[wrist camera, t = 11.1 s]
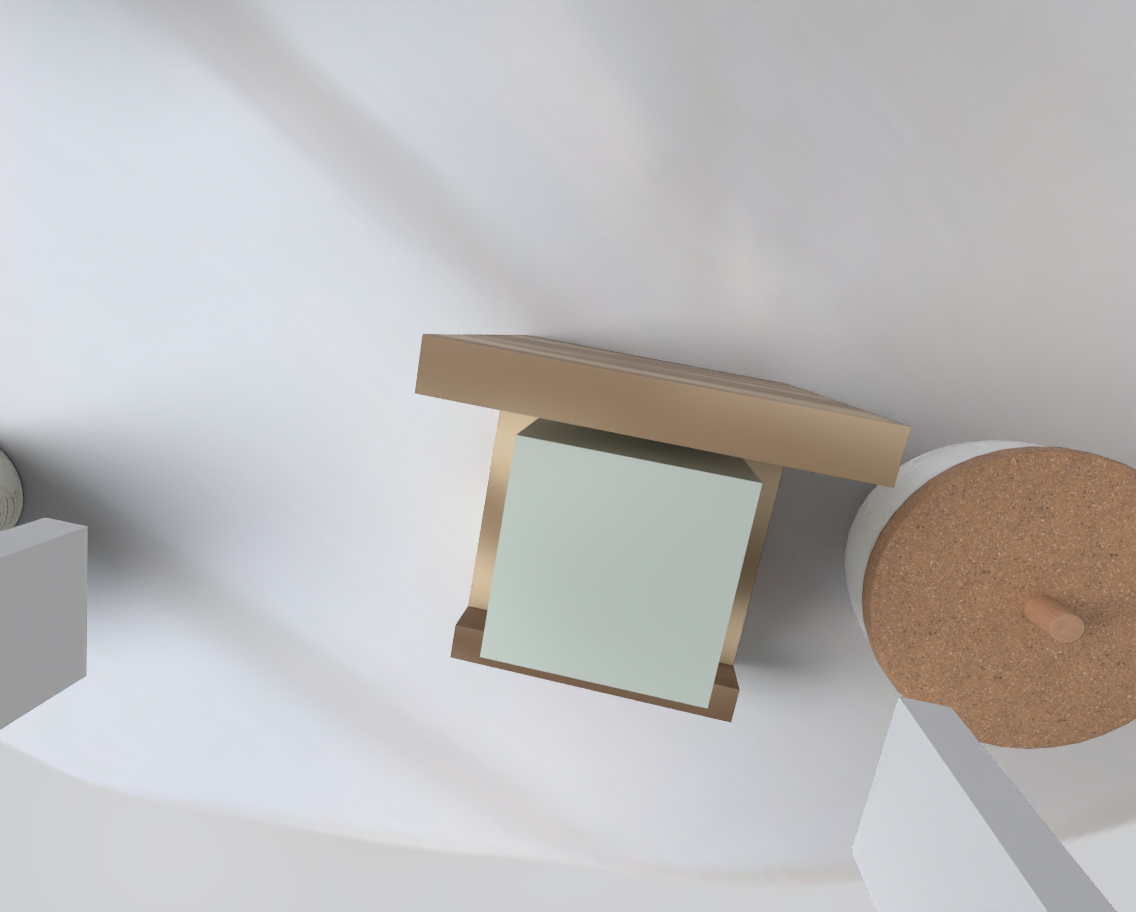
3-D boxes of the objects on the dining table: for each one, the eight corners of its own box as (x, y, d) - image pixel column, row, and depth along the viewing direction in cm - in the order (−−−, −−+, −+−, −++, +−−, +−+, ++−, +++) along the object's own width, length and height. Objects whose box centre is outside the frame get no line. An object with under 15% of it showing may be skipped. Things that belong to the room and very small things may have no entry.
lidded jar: (767, 566, 31) (817, 664, 22) (914, 373, 28) (1041, 390, 19) (959, 690, 31) (1092, 842, 21) (1122, 506, 28) (1349, 588, 19)
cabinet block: (558, 403, 27) (516, 434, 19) (724, 435, 27) (762, 483, 18) (526, 584, 29) (474, 692, 20) (683, 618, 28) (699, 744, 20)
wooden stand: (525, 335, 30) (422, 334, 16) (787, 384, 29) (911, 427, 15) (480, 609, 33) (359, 805, 19) (718, 662, 32) (771, 909, 18)
